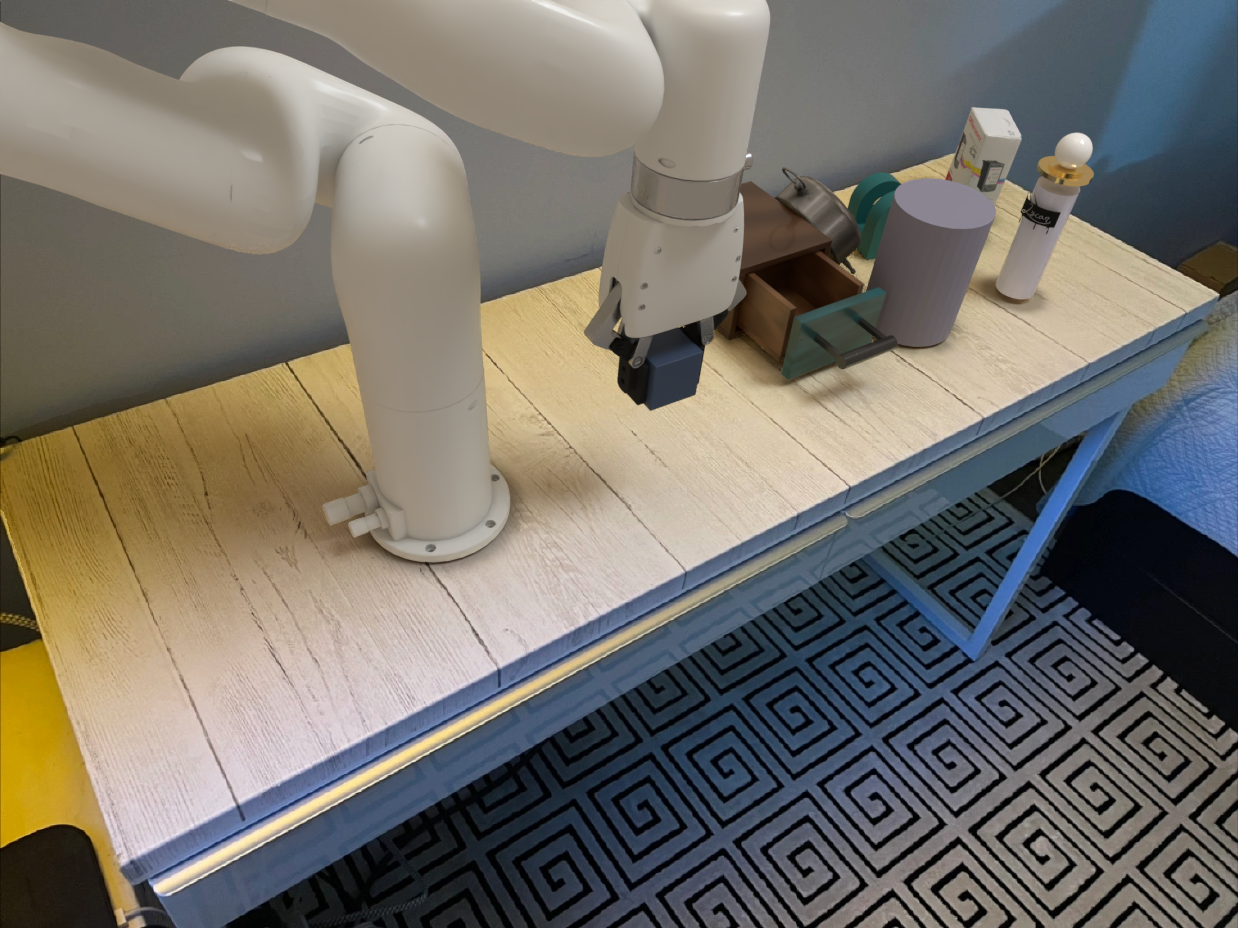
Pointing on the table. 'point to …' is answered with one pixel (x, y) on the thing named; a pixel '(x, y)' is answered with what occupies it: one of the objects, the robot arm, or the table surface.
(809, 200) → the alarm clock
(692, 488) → the table surface
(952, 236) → the container
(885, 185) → the bracket
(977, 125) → the ink box
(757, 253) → the cabinet
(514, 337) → the table surface
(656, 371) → the block
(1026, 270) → the perfume bottle
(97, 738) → the table surface
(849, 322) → the drawer
